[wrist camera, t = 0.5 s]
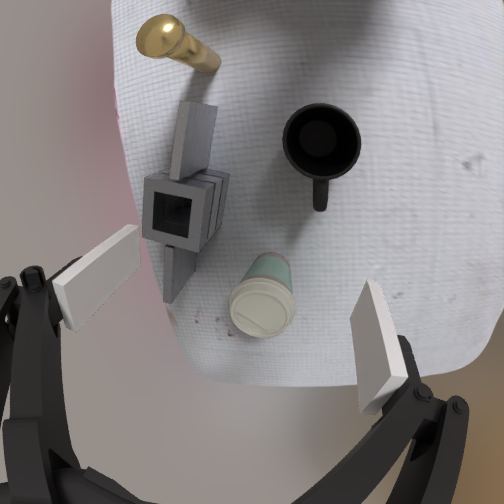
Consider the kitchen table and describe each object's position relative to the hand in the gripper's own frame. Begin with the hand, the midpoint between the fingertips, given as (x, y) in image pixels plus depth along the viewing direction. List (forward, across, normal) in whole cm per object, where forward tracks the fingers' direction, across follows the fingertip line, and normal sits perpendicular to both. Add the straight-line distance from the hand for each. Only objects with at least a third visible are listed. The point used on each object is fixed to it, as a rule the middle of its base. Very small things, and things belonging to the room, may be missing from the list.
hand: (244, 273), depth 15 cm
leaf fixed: (+26, -12, -9) cm, 30 cm away
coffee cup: (+26, +1, -14) cm, 29 cm away
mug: (+26, +4, +5) cm, 27 cm away
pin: (+26, -13, +15) cm, 33 cm away
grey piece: (+26, -12, 0) cm, 28 cm away
